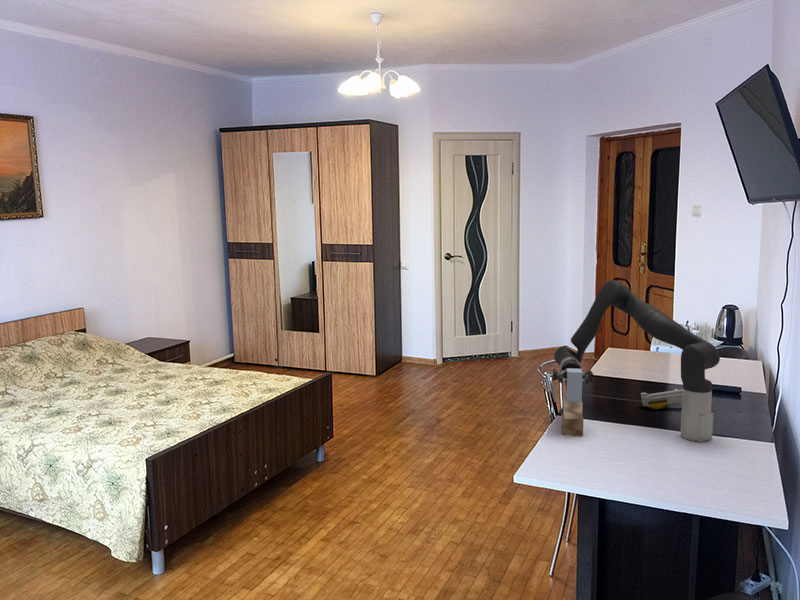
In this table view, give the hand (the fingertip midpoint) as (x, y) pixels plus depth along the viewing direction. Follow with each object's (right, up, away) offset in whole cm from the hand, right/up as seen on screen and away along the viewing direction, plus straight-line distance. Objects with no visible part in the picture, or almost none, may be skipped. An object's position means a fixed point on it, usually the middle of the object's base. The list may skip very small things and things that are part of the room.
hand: (574, 381), depth 231 cm
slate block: (+1, -7, +3) cm, 8 cm away
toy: (+47, -15, +27) cm, 57 cm away
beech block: (+1, -13, +4) cm, 14 cm away
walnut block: (+1, -19, +5) cm, 20 cm away
